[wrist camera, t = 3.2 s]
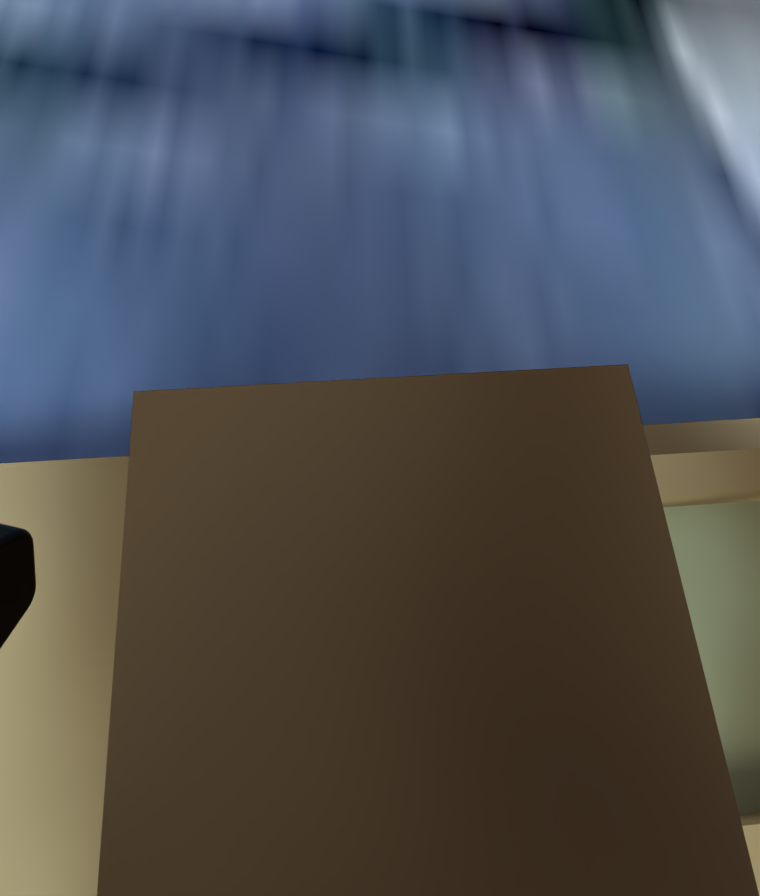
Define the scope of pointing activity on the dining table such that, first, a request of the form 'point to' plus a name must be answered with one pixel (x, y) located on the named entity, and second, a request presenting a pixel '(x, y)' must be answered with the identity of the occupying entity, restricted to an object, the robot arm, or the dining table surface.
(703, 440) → the puzzle board
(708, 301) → the dining table surface
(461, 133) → the dining table surface
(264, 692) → the walnut block
